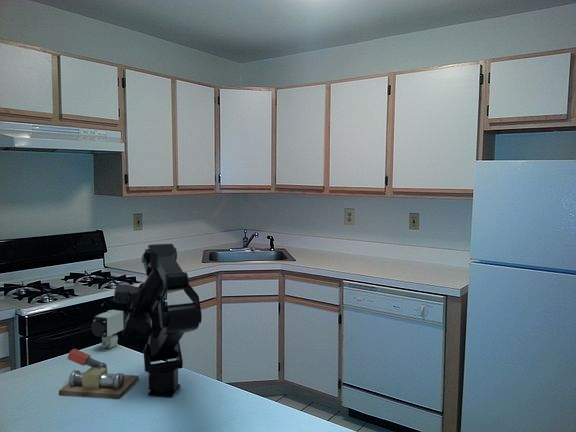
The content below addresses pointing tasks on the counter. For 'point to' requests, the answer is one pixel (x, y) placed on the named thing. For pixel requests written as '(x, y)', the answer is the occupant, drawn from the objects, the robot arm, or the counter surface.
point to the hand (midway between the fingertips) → (124, 335)
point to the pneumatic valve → (109, 326)
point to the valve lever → (84, 359)
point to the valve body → (96, 379)
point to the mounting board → (103, 391)
